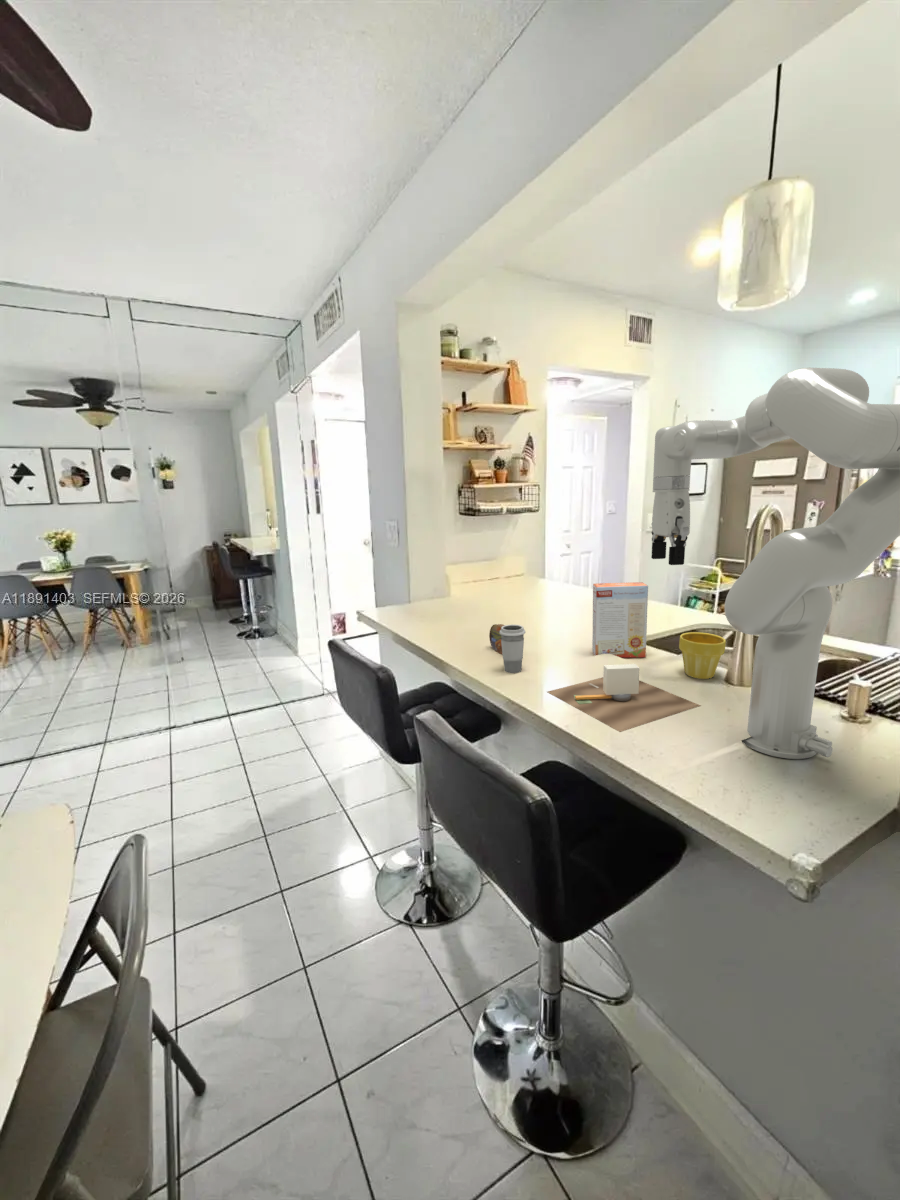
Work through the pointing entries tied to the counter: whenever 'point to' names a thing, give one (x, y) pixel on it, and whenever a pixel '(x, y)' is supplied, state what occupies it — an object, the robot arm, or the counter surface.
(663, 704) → the dial board
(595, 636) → the cracker box
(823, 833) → the counter surface
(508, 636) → the cup
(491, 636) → the tin
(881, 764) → the counter surface
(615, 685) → the knob
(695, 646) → the plant pot
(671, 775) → the counter surface
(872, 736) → the counter surface
